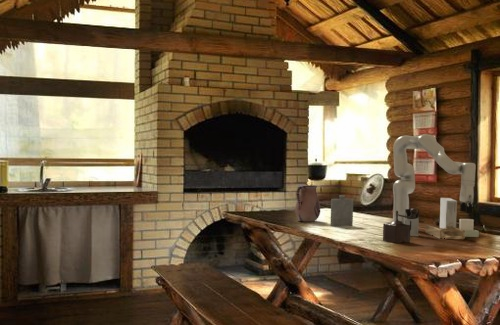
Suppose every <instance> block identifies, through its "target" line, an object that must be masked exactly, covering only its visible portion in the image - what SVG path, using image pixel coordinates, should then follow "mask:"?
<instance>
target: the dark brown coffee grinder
mask: <svg viewBox="0 0 500 325" xmlns="http://www.w3.org/2000/svg"><path fill="white" fill-rule="evenodd" d="M410 209H411V210H410V212H411V215H410V216H404V215H399V214H398V211H396V221H393V220H392V221H393V222H392V221H390V222H391V223H386V222H385V223H386V224H385V223H383V228H382V241H383V242H388V243H392V244H404V243H411V236H410V225H407V224H404V223H403V222H402V221H398V216H401V217H406V218H413V217H415V215H416V214H417V213H418V211H417V210H418V209H416V208H410Z"/></svg>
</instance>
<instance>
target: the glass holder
mask: <svg viewBox="0 0 500 325" xmlns="http://www.w3.org/2000/svg"><path fill="white" fill-rule="evenodd" d="M411 209H412V208H409V209H405V212H404V213H405V216H410V215H411V212H410V210H411ZM416 210H417V211H418V213H417V214H416V215H415V217H413V218H406V217H405V224H407V225H410V237H419V236H420V234H419V225H420V224H419V222H420V221H419V219H420V218H419V216H420V214H419V209H416ZM404 213H403V214H404ZM403 214H402V215H403ZM402 222H403V217H402ZM403 223H404V222H403Z"/></svg>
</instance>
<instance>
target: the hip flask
mask: <svg viewBox="0 0 500 325" xmlns="http://www.w3.org/2000/svg"><path fill="white" fill-rule="evenodd" d="M338 197H339V198H331V200H330V224H329V226H330V227H353V224H354V223H353V222H354V218H353V217H354V199H353V198H345V197H346V195H340V194H339V196H338Z"/></svg>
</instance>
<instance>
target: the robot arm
mask: <svg viewBox="0 0 500 325" xmlns="http://www.w3.org/2000/svg"><path fill="white" fill-rule="evenodd" d="M392 147H393V148H392V149H393V150H392V152H393V153H392V154H393V171H394V172H393V173H394V174H395V176H396V177H398V178H400V179H398V180H396V181H395V182H394V183H393V185H392V193H393V210H392V212H393V213H392V214H393V215H392V218H393V219H392V220H391V221H389V222H387V221H385V223H384V224H386V223H391V222H393V221H396V211H398V214H399V215H402V214H403V213H404V212H405V209H410V198H409V194H413V192H414V191H415V189H416V174H415V168H414V165H412V164H411V163H408V154H407V149H408V150H420V149H421V150H424V151H426V153H427V154H429V155H430V156H431V157H432V159H433V160H434V161H435V162H436V164H438V165H439V167H440V168H442V169H443V170H444V171H445V172H446V173H448V174H450V175H461V178H460V179H461V180H460V191H459V202H460V203H459V204H460V205H459V208H460V209H459V211H460V212H466V214H472V213H473V205H474V196H475V194H474V187H475V184H476V183H475V181H476V168H477V167H476V164H475V162H461V161H453V159H451V158H450V157H449V156H448V155H447V154H446V152H445V148H444V146H442V145H441V144H440V143H439V142H438V141H437V139H436V137H435V135H432V134H428V133H427V134H425V133H423V134H421V135H401V136H399V137H397V138H396V140H395V141H394V143H393V146H392ZM403 215H404V216H405V213H404V214H403ZM398 221H402V217H401V216H398ZM403 222H404V224H405V217H403Z"/></svg>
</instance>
